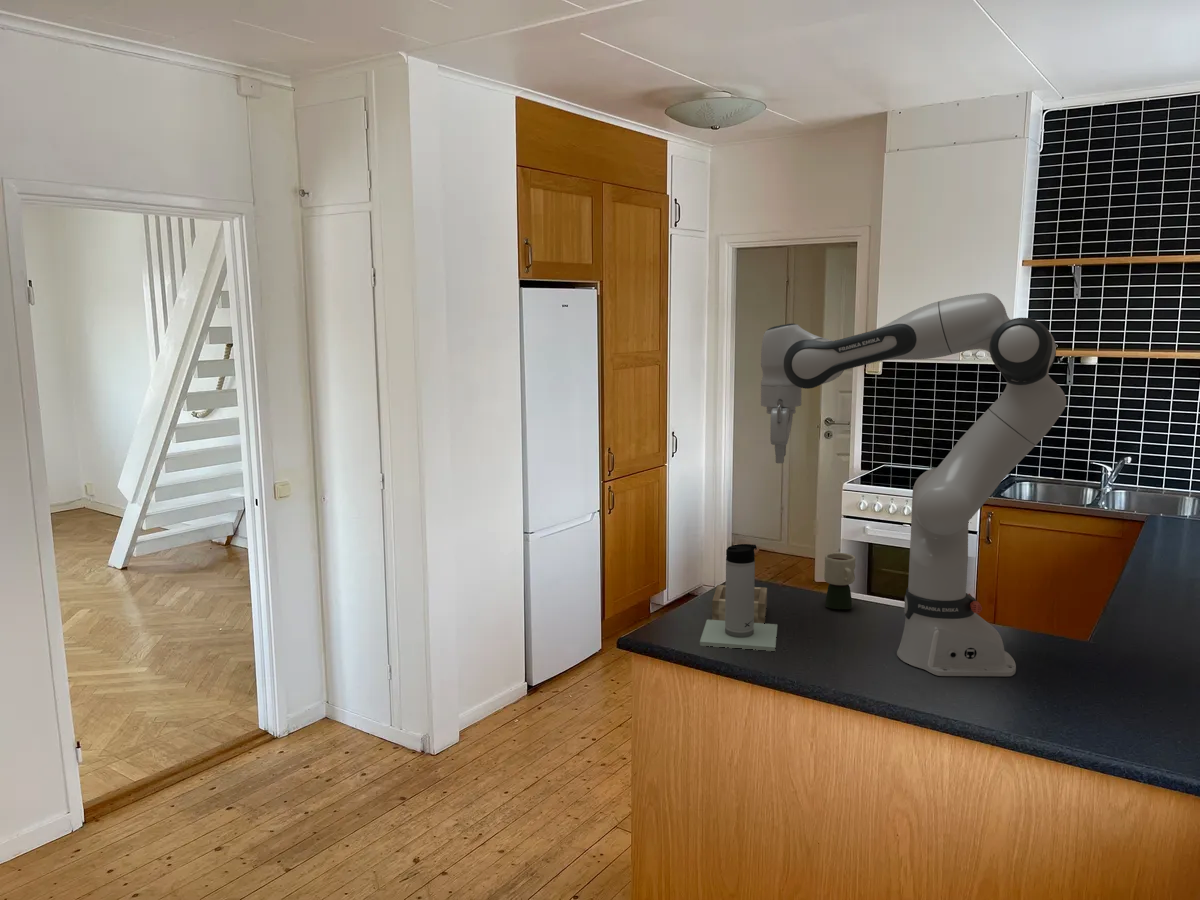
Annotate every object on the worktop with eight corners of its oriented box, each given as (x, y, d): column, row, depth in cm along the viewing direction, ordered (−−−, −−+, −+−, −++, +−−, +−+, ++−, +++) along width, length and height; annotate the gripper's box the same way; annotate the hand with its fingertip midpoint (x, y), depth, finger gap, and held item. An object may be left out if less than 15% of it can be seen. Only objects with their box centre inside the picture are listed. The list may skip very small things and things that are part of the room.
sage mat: (777, 628, 198) (777, 624, 198) (775, 651, 184) (775, 647, 184) (706, 623, 201) (706, 619, 201) (699, 646, 188) (699, 641, 188)
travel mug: (755, 638, 189) (756, 549, 186) (724, 637, 190) (725, 548, 187) (755, 628, 195) (756, 541, 192) (725, 626, 196) (726, 540, 193)
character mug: (862, 614, 206) (864, 561, 204) (834, 616, 205) (836, 563, 203) (842, 600, 217) (843, 549, 215) (815, 602, 216) (816, 551, 214)
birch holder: (766, 607, 212) (767, 587, 211) (764, 624, 200) (764, 603, 200) (717, 604, 215) (717, 584, 214) (712, 620, 203) (712, 600, 202)
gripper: (794, 402, 182) (793, 467, 184) (796, 394, 202) (796, 452, 204) (763, 402, 184) (763, 467, 186) (769, 394, 203) (768, 452, 205)
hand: (780, 459), depth 195 cm, fingers open, 8 cm apart
